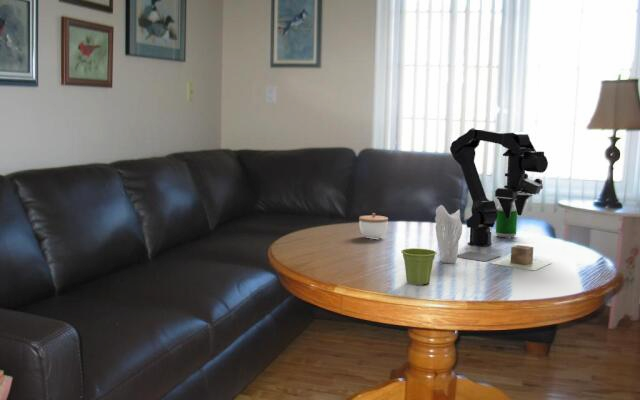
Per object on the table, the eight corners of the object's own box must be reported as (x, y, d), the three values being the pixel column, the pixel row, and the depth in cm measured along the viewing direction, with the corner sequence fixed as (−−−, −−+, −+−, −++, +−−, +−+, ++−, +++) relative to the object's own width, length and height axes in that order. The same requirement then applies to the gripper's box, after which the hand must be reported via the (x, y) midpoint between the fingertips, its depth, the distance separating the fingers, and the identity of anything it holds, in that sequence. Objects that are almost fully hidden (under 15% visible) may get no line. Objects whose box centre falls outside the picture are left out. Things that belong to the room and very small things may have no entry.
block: (510, 263, 205) (511, 247, 205) (517, 260, 209) (517, 244, 209) (526, 265, 202) (526, 249, 202) (532, 262, 206) (533, 247, 205)
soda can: (516, 238, 249) (518, 207, 247) (496, 237, 250) (497, 206, 249) (515, 235, 256) (516, 204, 254) (494, 234, 257) (496, 203, 256)
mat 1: (453, 256, 214) (453, 256, 214) (469, 251, 223) (469, 251, 223) (485, 261, 207) (485, 261, 207) (500, 256, 216) (500, 255, 216)
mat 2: (490, 263, 205) (490, 263, 205) (509, 256, 215) (509, 256, 215) (534, 270, 196) (534, 270, 196) (552, 263, 207) (552, 262, 207)
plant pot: (397, 278, 184) (398, 248, 183) (430, 278, 185) (431, 248, 184) (404, 287, 175) (405, 255, 174) (439, 287, 176) (440, 254, 174)
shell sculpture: (461, 260, 209) (463, 203, 207) (460, 265, 201) (463, 207, 199) (434, 258, 211) (436, 202, 209) (433, 264, 203) (435, 205, 201)
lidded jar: (368, 234, 254) (369, 210, 252) (392, 237, 247) (393, 212, 246) (353, 238, 245) (353, 213, 244) (378, 241, 239) (378, 216, 238)
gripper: (528, 173, 208) (525, 222, 210) (550, 170, 223) (548, 216, 225) (495, 171, 216) (493, 218, 218) (519, 168, 230) (516, 212, 232)
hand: (513, 216), depth 223 cm, fingers open, 9 cm apart
